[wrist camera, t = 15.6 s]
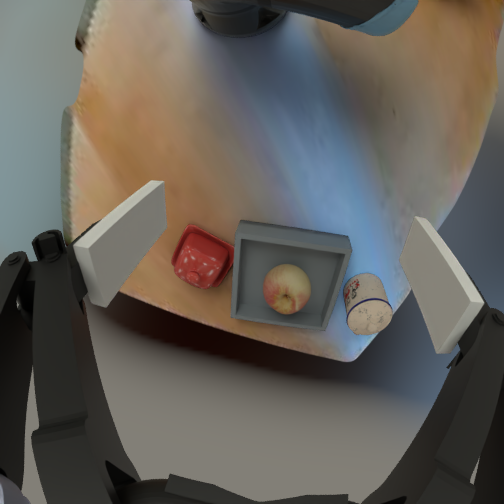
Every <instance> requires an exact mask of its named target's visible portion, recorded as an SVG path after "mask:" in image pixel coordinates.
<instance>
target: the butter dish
mask: <svg viewBox="0 0 504 504" xmlns="http://www.w3.org/2000/svg"><path fill="white" fill-rule="evenodd" d="M171 263H172V265H173V266H174V267H175V269H174V271H175V274H176V275H177V276H178V277H179V278H181V279H182V280H184V281H185V282H187V283H189V284H191V285H193V286H196V287H198V288H202V289H208V288H209V287H210V286H212V287H217V286H219V285H220V283H221V282H222V280H223V279H224V277H225V276H226V274H227V272H228V271H229V269H230V268H231V266H232V264H233V263H234V246H232V245H230V244H229V243H227V242H225V241H223V240H221V239H219V238H217V237H216V236H214V235H212V234H210V233H208V232H206V231H204V230H203V229H201V228H199V227H197V226H195V225H192V224H189V225H188V226H187V227H186V229H185V230H184V232H183V234H182V236H181V238H180V240H179V243H178V245H177V247H176V249H175V252H174V254H173V257H172V261H171Z"/></svg>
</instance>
